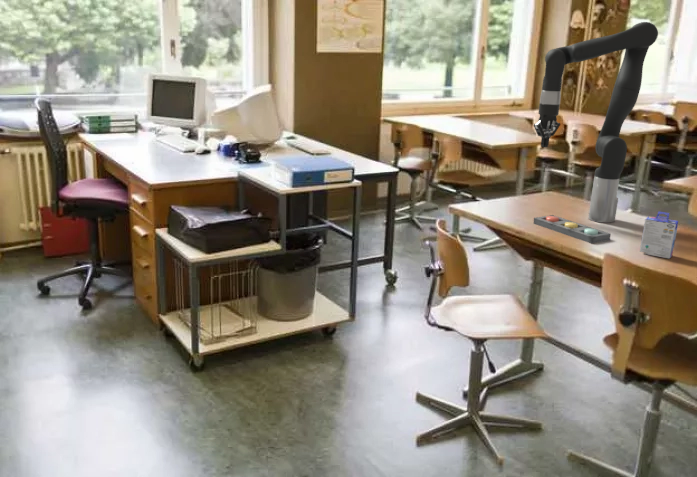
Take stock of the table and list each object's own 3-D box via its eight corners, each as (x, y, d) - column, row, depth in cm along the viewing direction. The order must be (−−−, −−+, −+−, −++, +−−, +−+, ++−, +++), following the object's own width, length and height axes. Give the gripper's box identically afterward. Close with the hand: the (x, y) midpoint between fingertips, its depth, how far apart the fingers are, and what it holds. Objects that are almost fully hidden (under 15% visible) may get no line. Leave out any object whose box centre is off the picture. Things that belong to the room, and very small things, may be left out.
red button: (542, 222, 260) (543, 216, 259) (551, 221, 263) (552, 215, 262) (552, 226, 256) (553, 219, 256) (560, 224, 259) (561, 218, 258)
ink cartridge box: (672, 255, 232) (680, 213, 228) (670, 259, 228) (678, 217, 223) (641, 249, 237) (648, 208, 233) (638, 253, 233) (646, 212, 228)
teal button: (580, 235, 246) (581, 229, 245) (589, 234, 248) (590, 227, 247) (591, 239, 242) (592, 232, 241) (599, 237, 244) (600, 231, 244)
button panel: (533, 225, 261) (534, 217, 260) (551, 222, 266) (552, 214, 265) (590, 245, 239) (591, 237, 238) (609, 241, 244) (610, 233, 243)
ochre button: (561, 229, 253) (562, 222, 252) (569, 227, 255) (570, 221, 255) (571, 232, 249) (572, 226, 249) (579, 230, 252) (580, 224, 251)
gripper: (554, 101, 272) (548, 144, 277) (530, 101, 265) (525, 146, 270) (569, 103, 265) (563, 147, 271) (545, 104, 259) (539, 149, 264)
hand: (544, 147), depth 270 cm, fingers closed
